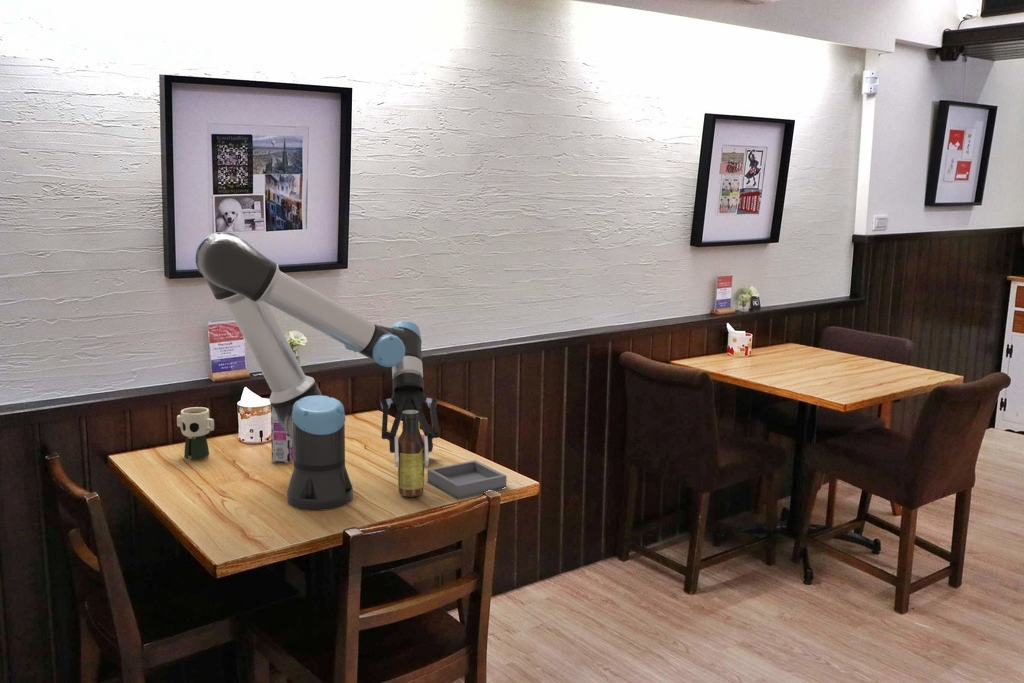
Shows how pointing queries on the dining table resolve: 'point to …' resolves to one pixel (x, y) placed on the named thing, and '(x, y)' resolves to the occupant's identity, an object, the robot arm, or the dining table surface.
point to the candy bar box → (280, 441)
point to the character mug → (195, 431)
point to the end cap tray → (466, 479)
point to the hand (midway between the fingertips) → (411, 463)
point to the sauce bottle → (410, 456)
